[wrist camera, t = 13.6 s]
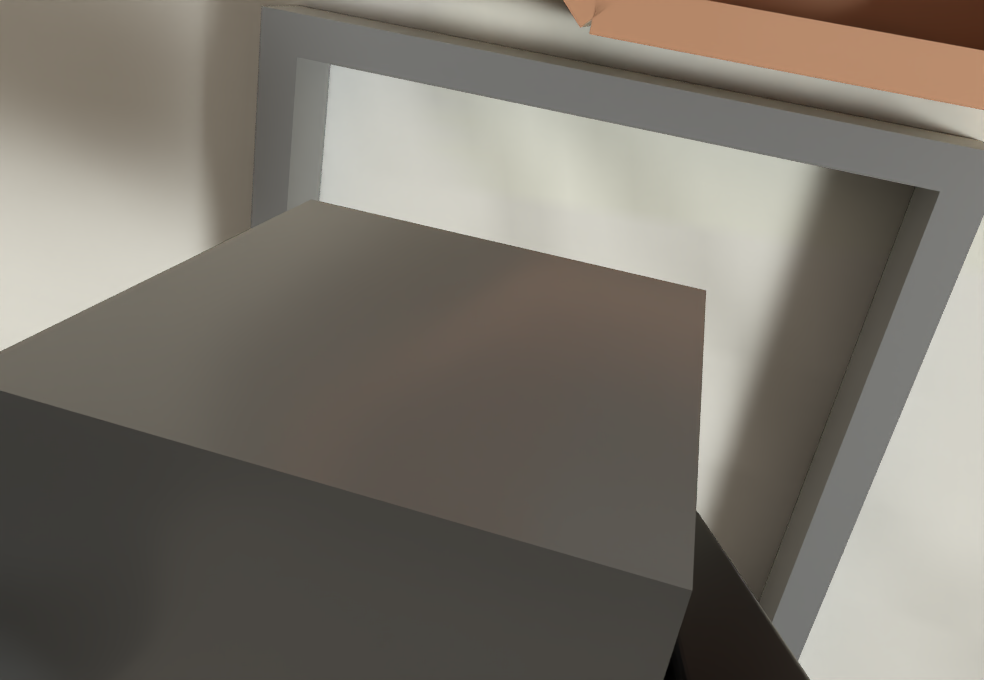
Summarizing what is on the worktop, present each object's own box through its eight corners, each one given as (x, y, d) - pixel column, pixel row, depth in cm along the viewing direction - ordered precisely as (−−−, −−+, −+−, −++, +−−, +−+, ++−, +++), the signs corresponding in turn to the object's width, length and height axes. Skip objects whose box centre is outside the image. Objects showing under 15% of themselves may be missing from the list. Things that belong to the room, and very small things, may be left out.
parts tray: (768, 673, 21) (771, 723, 19) (264, 519, 23) (234, 553, 22) (981, 140, 15) (1008, 155, 14) (299, 5, 18) (261, 6, 16)
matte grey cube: (613, 618, 11) (536, 1067, 6) (287, 521, 11) (6, 860, 7) (705, 291, 9) (692, 590, 4) (310, 199, 10) (-50, 374, 5)
